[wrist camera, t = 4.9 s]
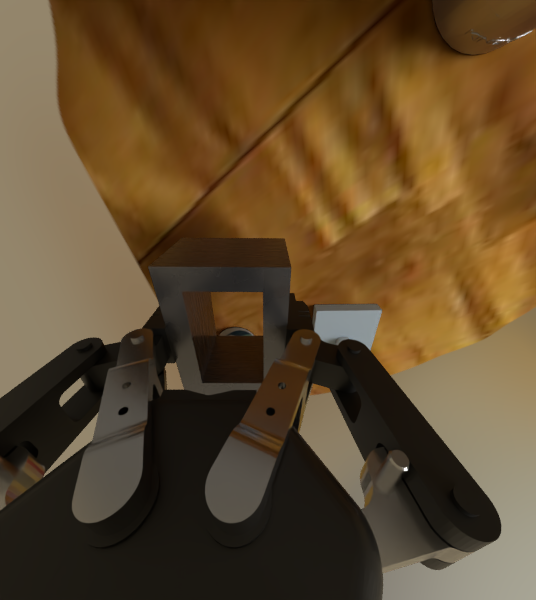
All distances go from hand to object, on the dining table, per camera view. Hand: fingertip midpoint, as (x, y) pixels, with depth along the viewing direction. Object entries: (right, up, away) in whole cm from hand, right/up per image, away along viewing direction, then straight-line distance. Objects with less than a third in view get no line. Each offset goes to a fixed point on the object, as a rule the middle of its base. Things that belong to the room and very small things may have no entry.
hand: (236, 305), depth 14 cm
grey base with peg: (+12, -5, +17) cm, 21 cm away
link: (0, 0, +1) cm, 1 cm away
